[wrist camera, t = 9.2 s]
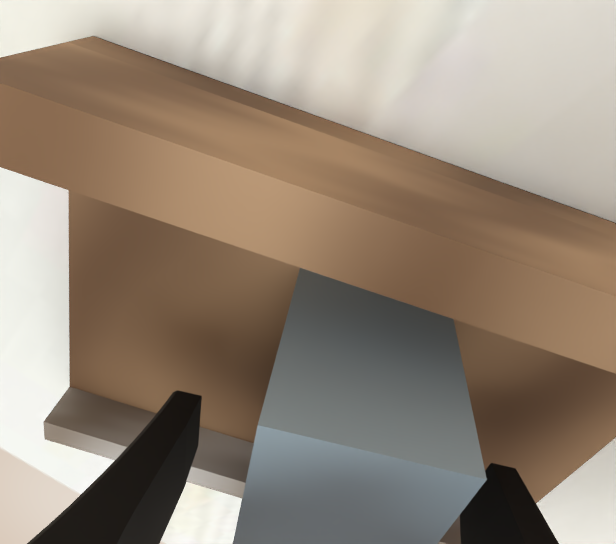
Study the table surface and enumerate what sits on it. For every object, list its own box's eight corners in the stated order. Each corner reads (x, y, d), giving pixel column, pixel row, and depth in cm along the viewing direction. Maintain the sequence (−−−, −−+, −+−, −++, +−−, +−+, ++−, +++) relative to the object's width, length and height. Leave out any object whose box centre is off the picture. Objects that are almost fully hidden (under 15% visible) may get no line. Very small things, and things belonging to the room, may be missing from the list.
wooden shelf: (755, 273, 11) (909, 398, 8) (486, 515, 19) (508, 632, 15) (93, 35, 10) (-44, 67, 7) (84, 391, 18) (16, 488, 14)
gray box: (449, 301, 12) (487, 479, 8) (384, 437, 15) (385, 611, 11) (300, 265, 12) (257, 425, 8) (268, 409, 15) (226, 573, 11)
